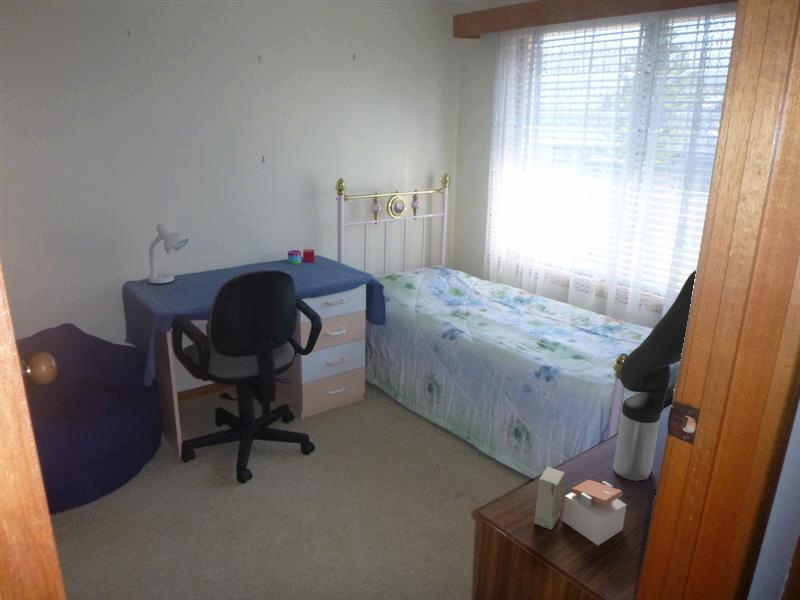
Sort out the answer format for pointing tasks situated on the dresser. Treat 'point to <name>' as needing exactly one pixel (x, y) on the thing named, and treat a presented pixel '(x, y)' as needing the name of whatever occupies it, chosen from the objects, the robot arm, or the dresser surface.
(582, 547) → the dresser surface
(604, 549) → the dresser surface
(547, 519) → the skincare box
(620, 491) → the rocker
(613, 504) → the switch box
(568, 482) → the dresser surface
